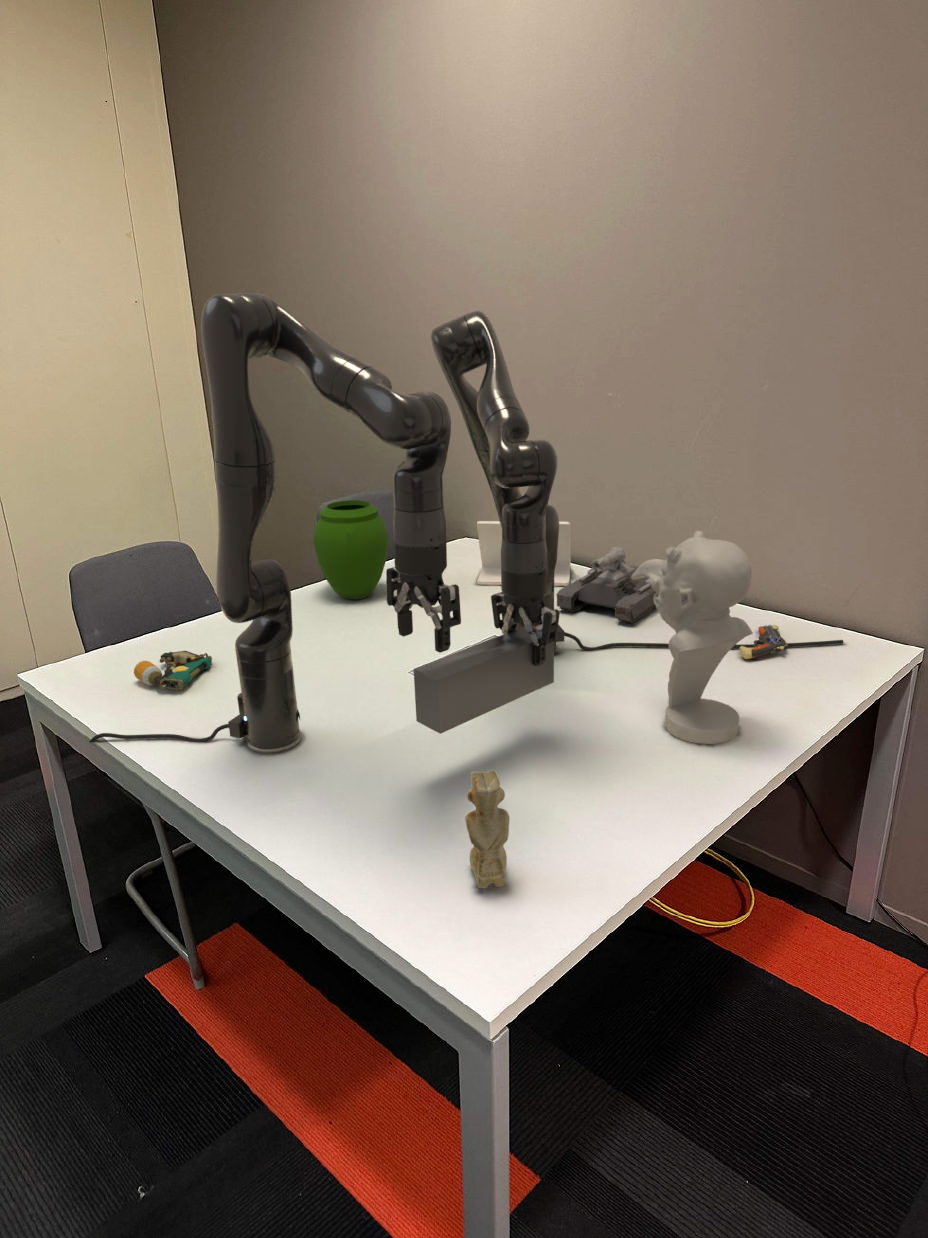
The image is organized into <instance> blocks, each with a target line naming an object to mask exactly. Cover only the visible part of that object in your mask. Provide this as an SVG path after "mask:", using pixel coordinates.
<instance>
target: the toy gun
mask: <svg viewBox="0 0 928 1238" xmlns="http://www.w3.org/2000/svg"><path fill="white" fill-rule="evenodd" d="M779 630H780V627H779V626H778V625H777V624H768V625H766V624H765V625H763V626H762V625H761V626H759V627H758V633H759V636H758V639H756V640H754V641H753V644H754V645H753V647H744V646H741V647H740V648H739V653H740V655H741V657H742V658H743V659H745V660H750V659H753V658H756V657H760V656H764V655H766V654H771V653H773V652H775V651H778V650H781V651H783V650H784V649H785V647H784V646H788V645H787V644H786V643H787V641H786V639H784V638H783V637H782V636H781V635H780V632H779ZM757 644H763V645H757Z"/></svg>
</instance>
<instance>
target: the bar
mask: <svg viewBox="0 0 928 1238" xmlns="http://www.w3.org/2000/svg"><path fill="white" fill-rule="evenodd" d="M533 627H534V626H533ZM537 635H538V638H539V637H540V635H539V632H538V631H537ZM533 645H534V644H533V642H532V639H531V636H530V634H528V633H527V631H526V628H525V627H522V628H519V629H517V630H514V631H512V632H509V633H506V634H501V635H499V636H496V637H494V638H491V639H488V640H486V641H483V642H480V643H478V644H475V645H472V646H469V647H467V648H465V649H461V650H459V651H456V652H454V653H452V654H449V655H446V656H443V657H441V658H438V659H436V660H433V661H430V662H428V663H425V664H422V665H420V666H416V667H415V668H413V685H414V701H415V719H416V720H415V721H416V722H417V723H419V724H421V725H423V726H424V727H427V728H429V729H430V730H432V731H434V732H436V733H438V734H439V735H440V734H443V733H445V732H447V731H450V730H452V729H454V728H457V727H458V726H460V725H463V724H465V723H467V722H470V721H472V720H474V719H476V718H479V717H481V716H483V715H485V714H487V713H489V712H492V711H494V710H496V709H499V708H501V707H502V706H505V705H507V704H509V703H511V702H514V701H516V700H519V699H520V698H523V697H525V696H527V695H529V694H531V693H534V692H536V691H538V690H541V689H542V688H545V687H547V686H549V685H551V684H553V683H554V682H555V654H554V642H553V643H550V644H548V645H546V660H545V662H544V663H543V664H541V665H539V666H534V665H533Z"/></svg>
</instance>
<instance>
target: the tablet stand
mask: <svg viewBox="0 0 928 1238" xmlns="http://www.w3.org/2000/svg"><path fill="white" fill-rule="evenodd" d="M476 531H477V537H478V544H479V551H480V557H481V558H480V559H481V570H480V573H479V575H478V577H477V580H476V581H477V582H476V584H478V585H484V586H485V585H486V586H487V585H489V586H490V585H491V586H501V546H502V527H501V524H500V521H499V520H477V522H476ZM571 560H572V558H571V522H569V521H559V537H558V554H557V563H556V567H555V572H554V587H556V586H557V587H566V586H567V585H569V584H570V580H571V579H570V578H571V565H572V564H571Z"/></svg>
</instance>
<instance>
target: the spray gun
mask: <svg viewBox="0 0 928 1238" xmlns="http://www.w3.org/2000/svg"><path fill="white" fill-rule="evenodd" d="M212 660H213V657H212V656H211V655H208V653H207V652H205V653H201V654H197V653H194V652H192V651H191V652H190V651H188V650H180V651H169V652H164V653H162V654H161V655H160V658H159V660H158V662H159V663H161V664H163V663H165V664H166V668H165V670H163V672H164V674H163V673H162V669H160V668H159V666H157V665H156V664H154V663H152V662H151V661H149V660H141V661H139V662H138V663H136V665H135V666H134V668H133V675H134V677H135V678H136V679H137V680H139V681H140V682H142V683H143V684H145V685H147V686H155V685H157V686H158V687H160V688H161V689H171V690H172V689H173V690H182V689H184V687H185V686H186V685H188V684H189V683H190V682H191V681H192V679H193V678H195V677H196V676H197V675H198V674H200V673H201V672H202V671H203V670H206V669H208V668H209V667H210V666H211V665H212V662H213V661H212ZM178 663H179V664H181V665H179V666H176V665H177V664H178Z"/></svg>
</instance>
